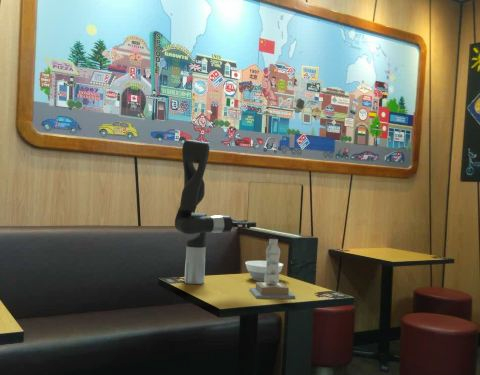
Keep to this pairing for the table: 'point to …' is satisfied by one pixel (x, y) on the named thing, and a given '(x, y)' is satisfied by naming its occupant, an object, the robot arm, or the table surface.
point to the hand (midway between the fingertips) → (251, 223)
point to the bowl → (259, 269)
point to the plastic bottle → (272, 263)
